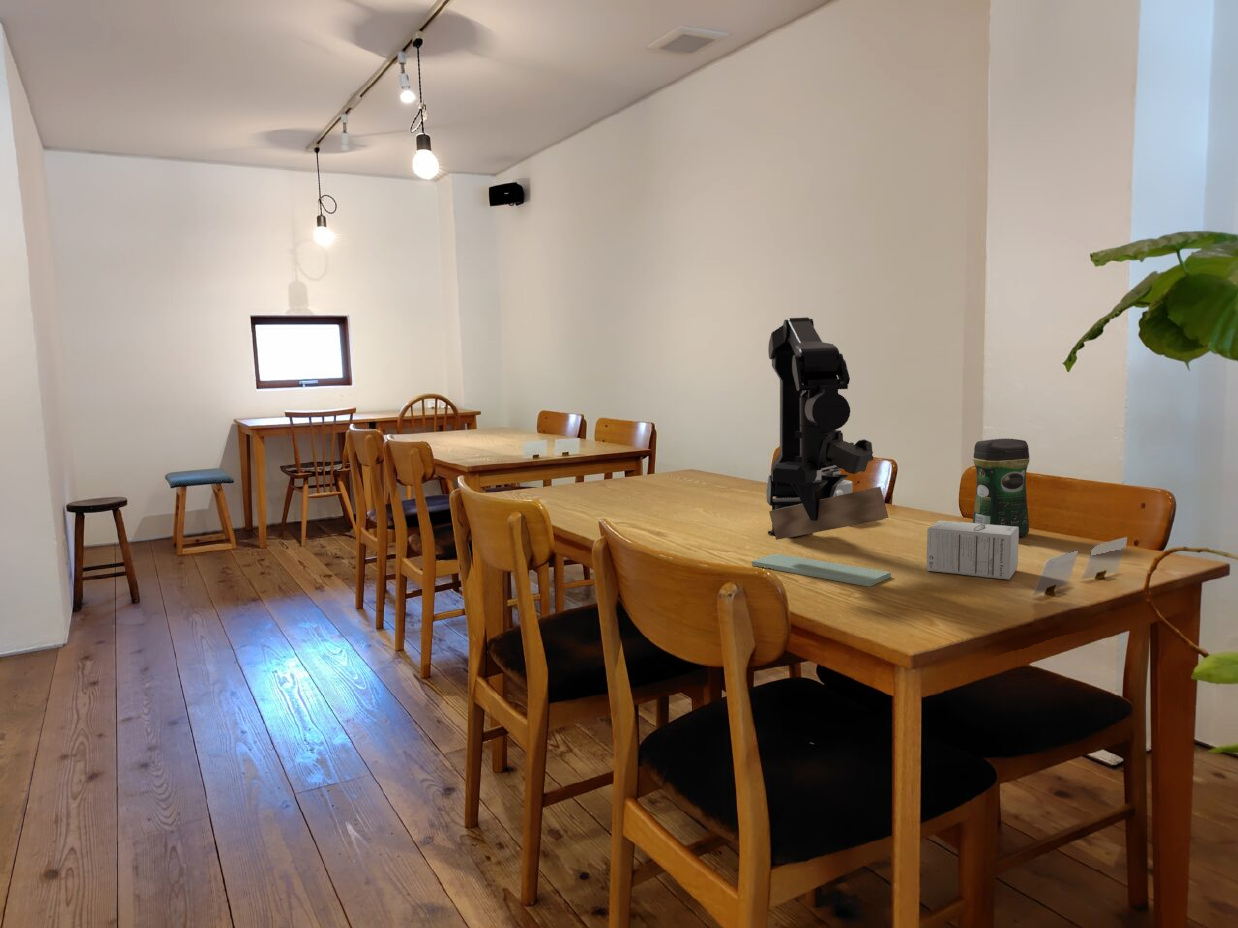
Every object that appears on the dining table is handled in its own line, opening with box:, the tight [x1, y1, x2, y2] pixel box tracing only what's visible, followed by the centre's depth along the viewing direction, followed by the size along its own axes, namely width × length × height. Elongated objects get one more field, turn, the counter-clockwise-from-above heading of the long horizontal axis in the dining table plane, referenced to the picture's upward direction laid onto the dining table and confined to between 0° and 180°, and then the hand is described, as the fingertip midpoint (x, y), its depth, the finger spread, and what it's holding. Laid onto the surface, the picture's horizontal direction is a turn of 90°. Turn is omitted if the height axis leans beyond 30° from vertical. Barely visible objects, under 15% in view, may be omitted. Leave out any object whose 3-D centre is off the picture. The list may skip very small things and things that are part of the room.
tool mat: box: [751, 553, 892, 588], centre depth 139 cm, size 22×7×1 cm, turn 46°
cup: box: [833, 479, 854, 497], centre depth 181 cm, size 11×8×8 cm
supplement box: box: [926, 520, 1020, 581], centre depth 135 cm, size 7×7×13 cm
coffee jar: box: [972, 438, 1031, 537], centre depth 160 cm, size 10×8×19 cm
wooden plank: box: [768, 486, 889, 540], centre depth 137 cm, size 20×2×5 cm, turn 45°
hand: (818, 519), depth 138 cm, fingers closed on wooden plank, 2 cm apart
